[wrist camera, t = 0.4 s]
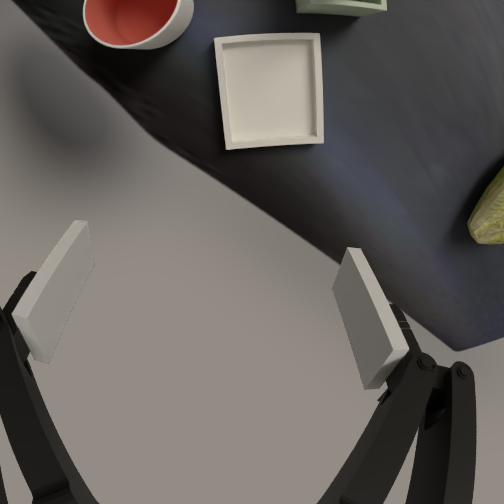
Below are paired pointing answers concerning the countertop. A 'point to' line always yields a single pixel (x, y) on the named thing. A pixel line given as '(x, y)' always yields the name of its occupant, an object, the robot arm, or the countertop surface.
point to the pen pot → (341, 7)
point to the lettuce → (489, 214)
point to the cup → (137, 22)
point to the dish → (270, 89)
